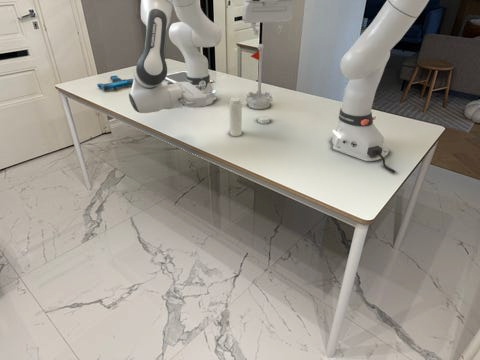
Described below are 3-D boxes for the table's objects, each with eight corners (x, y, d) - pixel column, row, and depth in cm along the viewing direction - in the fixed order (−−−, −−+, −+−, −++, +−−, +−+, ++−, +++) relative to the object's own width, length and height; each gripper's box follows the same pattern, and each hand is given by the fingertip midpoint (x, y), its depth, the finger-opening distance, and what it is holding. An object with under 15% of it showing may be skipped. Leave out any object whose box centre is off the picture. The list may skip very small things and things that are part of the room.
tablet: (158, 76, 219) (158, 76, 219) (185, 70, 230) (185, 70, 230) (186, 88, 199) (186, 87, 198) (213, 81, 210) (213, 81, 209)
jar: (239, 130, 150) (239, 96, 142) (242, 135, 146) (242, 100, 138) (228, 131, 149) (228, 97, 141) (231, 136, 145) (230, 101, 137)
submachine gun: (141, 68, 224) (160, 75, 207) (142, 74, 226) (161, 81, 209) (89, 78, 205) (105, 86, 189) (91, 85, 207) (107, 93, 191)
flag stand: (265, 99, 183) (267, 40, 167) (275, 107, 173) (279, 45, 156) (242, 102, 179) (242, 42, 163) (252, 111, 169) (253, 48, 152)
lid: (255, 120, 160) (255, 117, 159) (264, 117, 162) (264, 114, 161) (262, 124, 156) (263, 121, 155) (272, 121, 158) (272, 118, 158)
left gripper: (183, 96, 117) (219, 90, 123) (166, 80, 133) (199, 76, 138) (184, 113, 121) (220, 107, 126) (168, 96, 136) (200, 91, 141)
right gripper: (290, -6, 135) (288, 31, 143) (241, -5, 131) (241, 33, 139) (296, -5, 130) (293, 34, 138) (245, -3, 126) (245, 36, 133)
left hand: (209, 90), depth 132 cm, fingers open, 8 cm apart
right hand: (267, 34), depth 138 cm, fingers open, 8 cm apart
